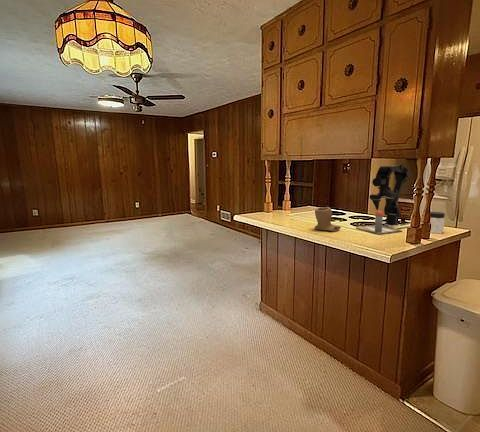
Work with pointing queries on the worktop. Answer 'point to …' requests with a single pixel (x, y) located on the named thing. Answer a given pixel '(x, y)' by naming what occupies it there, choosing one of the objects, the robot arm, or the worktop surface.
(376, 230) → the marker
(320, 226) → the brown boot-shaped piece
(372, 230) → the brown framed square board
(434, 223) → the jar
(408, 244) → the worktop surface
